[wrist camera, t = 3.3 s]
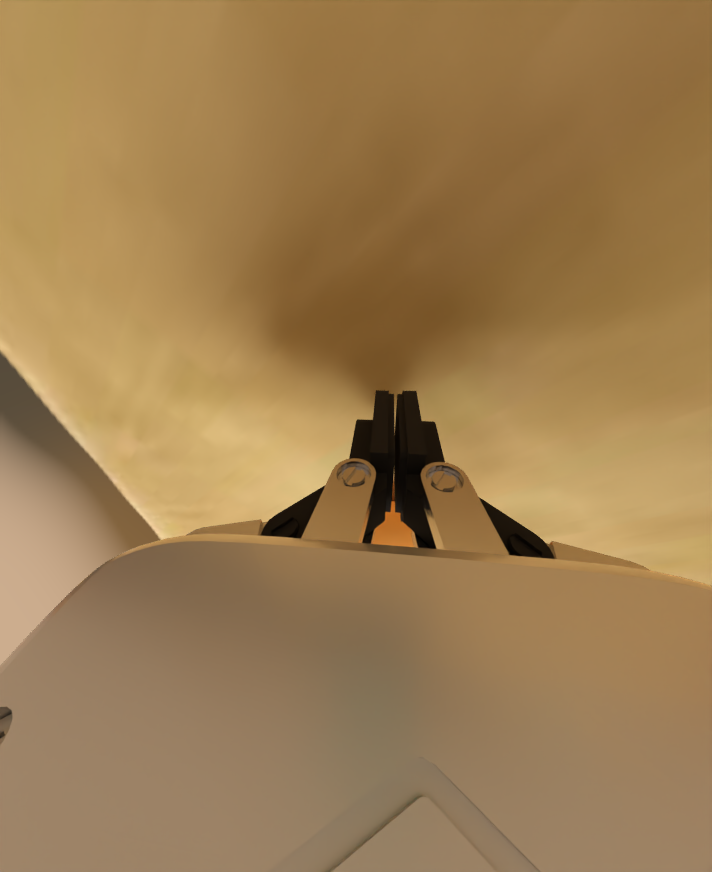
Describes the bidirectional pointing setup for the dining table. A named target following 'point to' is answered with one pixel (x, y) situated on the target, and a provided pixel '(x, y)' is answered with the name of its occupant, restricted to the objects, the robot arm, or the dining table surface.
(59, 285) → the dining table surface
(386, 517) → the ball
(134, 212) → the dining table surface
